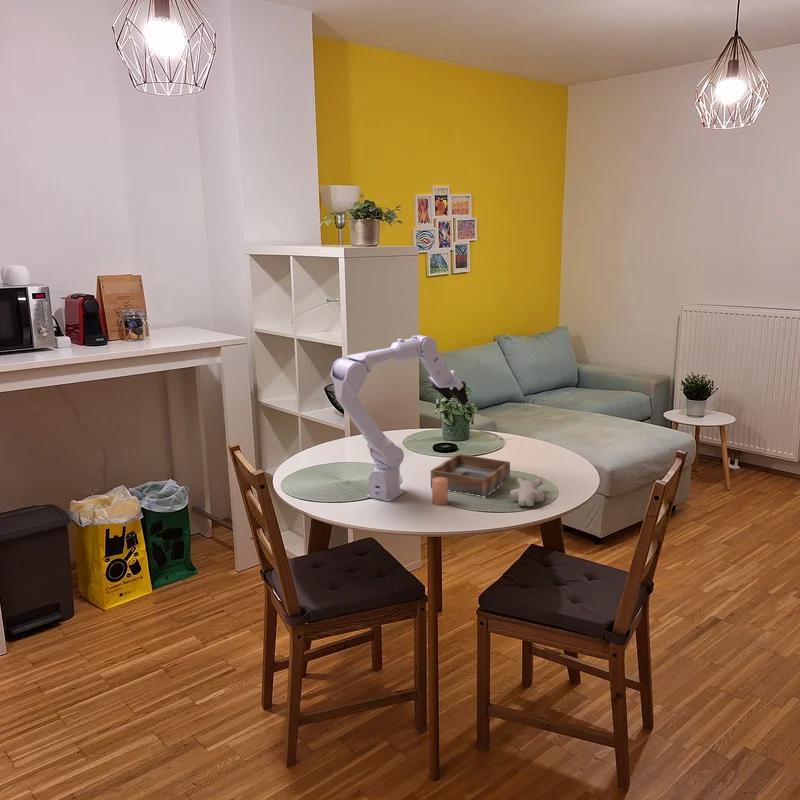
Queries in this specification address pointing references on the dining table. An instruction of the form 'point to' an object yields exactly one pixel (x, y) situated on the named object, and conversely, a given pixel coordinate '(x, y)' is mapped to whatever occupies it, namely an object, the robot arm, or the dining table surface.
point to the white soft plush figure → (527, 492)
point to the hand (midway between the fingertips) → (458, 400)
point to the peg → (440, 491)
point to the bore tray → (472, 474)
